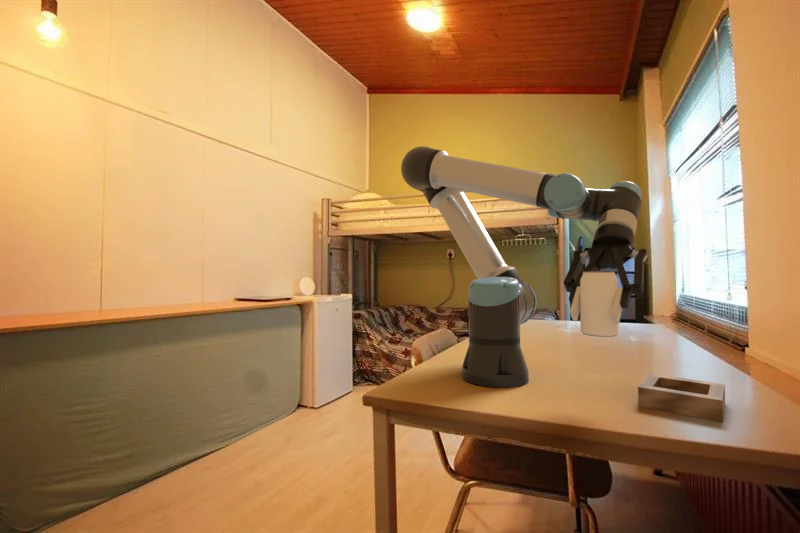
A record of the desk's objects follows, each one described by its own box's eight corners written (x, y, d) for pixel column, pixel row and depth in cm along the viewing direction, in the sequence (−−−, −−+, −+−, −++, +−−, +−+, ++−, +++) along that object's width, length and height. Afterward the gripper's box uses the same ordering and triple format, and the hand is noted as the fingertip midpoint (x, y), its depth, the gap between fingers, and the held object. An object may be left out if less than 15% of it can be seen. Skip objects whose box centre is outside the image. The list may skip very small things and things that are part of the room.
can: (623, 337, 71) (623, 271, 71) (585, 336, 72) (584, 271, 72) (612, 332, 77) (611, 271, 77) (576, 331, 78) (576, 271, 78)
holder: (638, 405, 72) (638, 386, 72) (649, 390, 81) (649, 373, 81) (722, 422, 64) (722, 400, 64) (725, 403, 73) (724, 384, 73)
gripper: (670, 245, 80) (658, 336, 67) (571, 249, 92) (546, 326, 80) (666, 217, 76) (653, 307, 63) (563, 225, 89) (536, 301, 76)
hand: (593, 317), depth 72 cm, fingers closed on can, 6 cm apart
